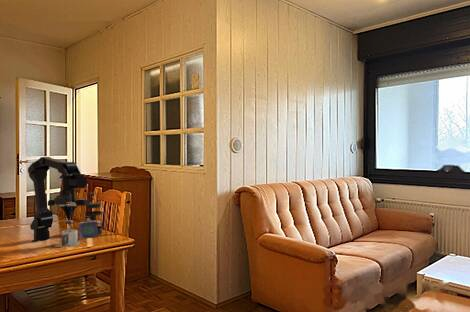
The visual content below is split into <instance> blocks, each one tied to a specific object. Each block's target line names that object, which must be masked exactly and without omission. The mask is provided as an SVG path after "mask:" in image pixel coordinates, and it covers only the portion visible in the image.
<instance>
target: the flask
mask: <svg viewBox="0 0 470 312" xmlns="http://www.w3.org/2000/svg"><path fill="white" fill-rule="evenodd" d="M97 221H98V220H96V221H94V220H93V221H92V220H91V219H90V218H89V217H88V218H86V219H85V221H81V222H79V223H78V240H84V239H91V238H97V237H98V236H99V235H98V226H99V224H98V222H97Z"/></svg>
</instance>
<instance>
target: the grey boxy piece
mask: <svg viewBox="0 0 470 312" xmlns="http://www.w3.org/2000/svg"><path fill="white" fill-rule="evenodd" d="M68 231H69V229H64V230H63V231H61V232H60V233H61V234H60V236H61V237H60V238H61V243H60V244H62V245H63V246H70V245H75V244H77V243H78V242H79V241H78V240H79V229H70V231H74V232H68Z"/></svg>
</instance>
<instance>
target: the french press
mask: <svg viewBox="0 0 470 312" xmlns="http://www.w3.org/2000/svg"><path fill="white" fill-rule="evenodd" d="M88 194H89V195H91V196H92V197H94V196H95V195H97V192H89V193H88ZM85 206H86V207H87V209H92V211H85V212H84V217H90V220H92V221H93V220H94V221H97V222H98V234H99V235H102V234H103V229H104V228H106V227H107V226H106V223H107V222H106V221H107V220H106V211H100V210H94V209H100V208H101V207H102V202H95V201H92V202H90V204H88V205H85ZM103 214H104V218H103V217H102V215H103ZM97 216H100V220H97ZM103 219H104V226H103ZM99 224H100V226H99ZM101 233H102V234H101Z"/></svg>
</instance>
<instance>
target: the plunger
mask: <svg viewBox="0 0 470 312" xmlns="http://www.w3.org/2000/svg"><path fill="white" fill-rule="evenodd" d="M64 224H65V225H67V227H68V230H69V231H68V232H74V231H70V230H71V225H72V224H74V220H73V219H72V220H71V219H70V220H68V219H67V220H65V222H64Z"/></svg>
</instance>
